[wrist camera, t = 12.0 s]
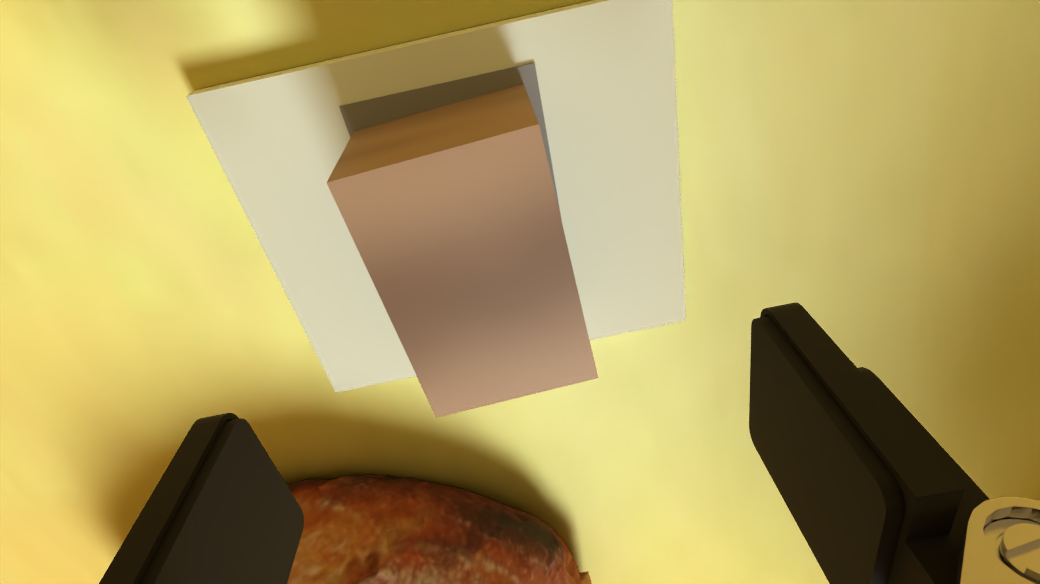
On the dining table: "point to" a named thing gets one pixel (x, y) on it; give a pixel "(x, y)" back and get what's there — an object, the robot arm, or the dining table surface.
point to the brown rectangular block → (467, 249)
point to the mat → (450, 79)
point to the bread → (421, 536)
